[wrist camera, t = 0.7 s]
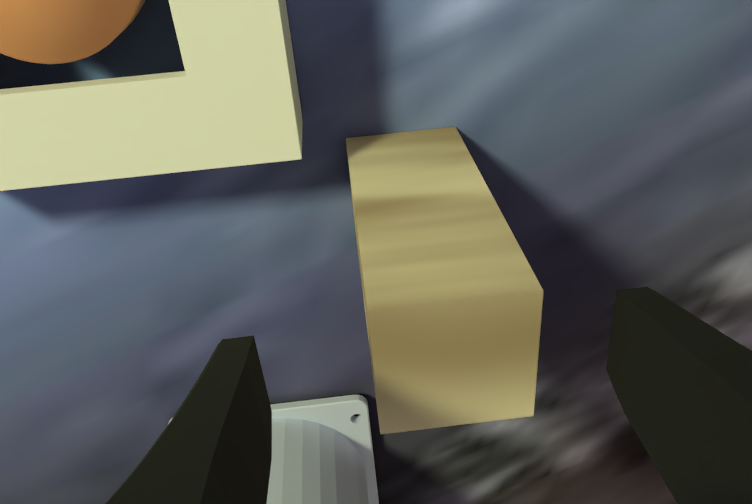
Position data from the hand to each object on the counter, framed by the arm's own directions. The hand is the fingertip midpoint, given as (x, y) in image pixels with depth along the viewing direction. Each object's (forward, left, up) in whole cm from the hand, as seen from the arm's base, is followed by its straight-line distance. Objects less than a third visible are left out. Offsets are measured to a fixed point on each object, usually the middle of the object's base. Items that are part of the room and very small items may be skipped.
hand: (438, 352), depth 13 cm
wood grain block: (-1, 0, -9) cm, 9 cm away
